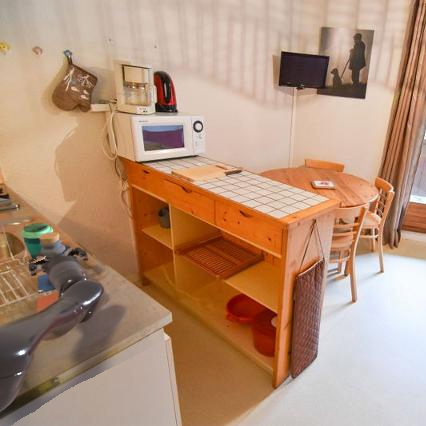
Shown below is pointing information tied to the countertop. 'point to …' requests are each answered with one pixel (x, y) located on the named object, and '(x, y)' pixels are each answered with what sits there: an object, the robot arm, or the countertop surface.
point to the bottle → (51, 245)
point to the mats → (45, 286)
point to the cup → (34, 236)
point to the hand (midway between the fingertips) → (52, 251)
